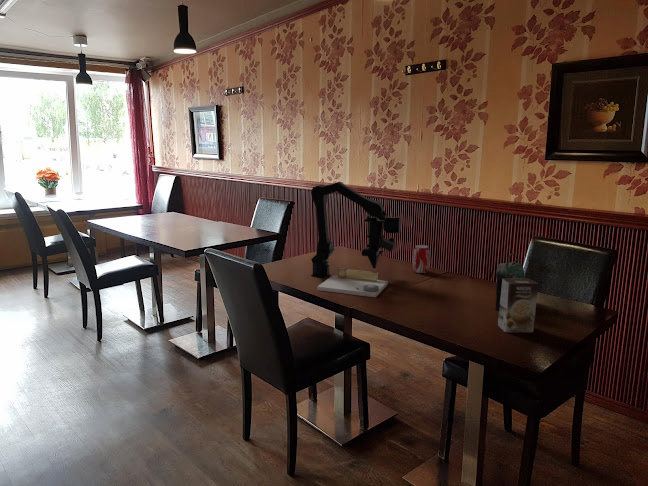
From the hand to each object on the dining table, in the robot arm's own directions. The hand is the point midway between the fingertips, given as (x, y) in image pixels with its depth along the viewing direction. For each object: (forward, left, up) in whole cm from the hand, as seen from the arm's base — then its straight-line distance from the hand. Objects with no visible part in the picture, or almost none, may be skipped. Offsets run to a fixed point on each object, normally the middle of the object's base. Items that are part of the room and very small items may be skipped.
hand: (374, 268), depth 208 cm
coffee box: (+57, -35, -5) cm, 67 cm away
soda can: (+16, +20, -5) cm, 26 cm away
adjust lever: (-5, -7, -3) cm, 9 cm away
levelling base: (-5, -13, -5) cm, 15 cm away
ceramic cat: (+54, -12, -5) cm, 56 cm away
